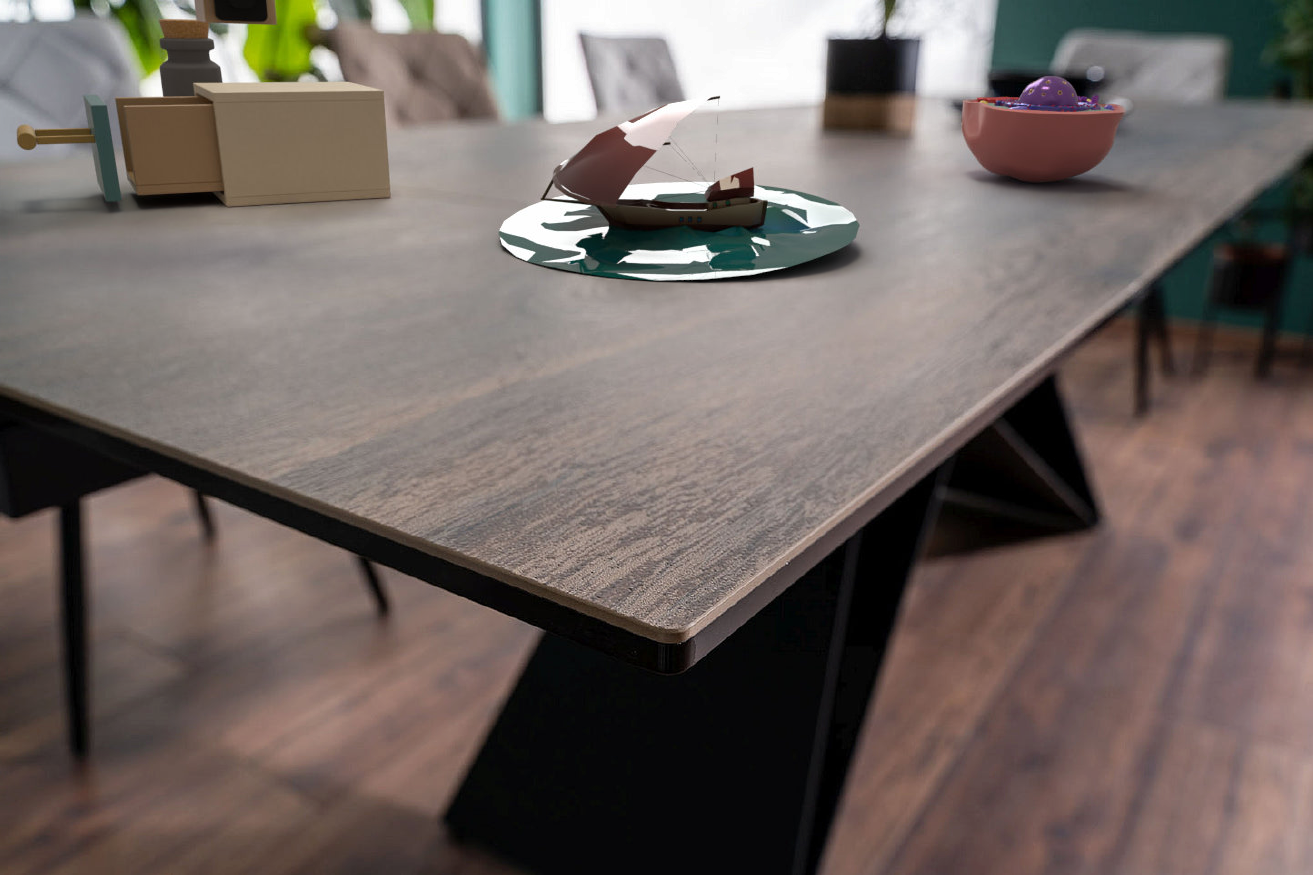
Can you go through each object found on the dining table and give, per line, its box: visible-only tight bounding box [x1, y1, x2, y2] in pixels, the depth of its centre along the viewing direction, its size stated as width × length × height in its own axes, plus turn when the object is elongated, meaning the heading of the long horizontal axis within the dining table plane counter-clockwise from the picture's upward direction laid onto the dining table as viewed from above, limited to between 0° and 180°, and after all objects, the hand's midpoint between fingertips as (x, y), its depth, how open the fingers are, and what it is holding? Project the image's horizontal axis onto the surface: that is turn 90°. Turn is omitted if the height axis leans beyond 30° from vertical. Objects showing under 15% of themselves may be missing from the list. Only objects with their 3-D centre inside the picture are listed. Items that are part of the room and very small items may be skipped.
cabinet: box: [193, 81, 392, 208], centre depth 101 cm, size 15×13×10 cm
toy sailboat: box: [498, 95, 860, 281], centre depth 83 cm, size 28×28×11 cm
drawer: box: [16, 94, 224, 202], centre depth 96 cm, size 19×11×8 cm, turn 119°
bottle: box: [158, 18, 224, 97], centre depth 111 cm, size 6×6×15 cm
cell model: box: [960, 75, 1127, 184], centre depth 121 cm, size 17×20×11 cm
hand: (235, 16), depth 73 cm, fingers closed on block, 4 cm apart
